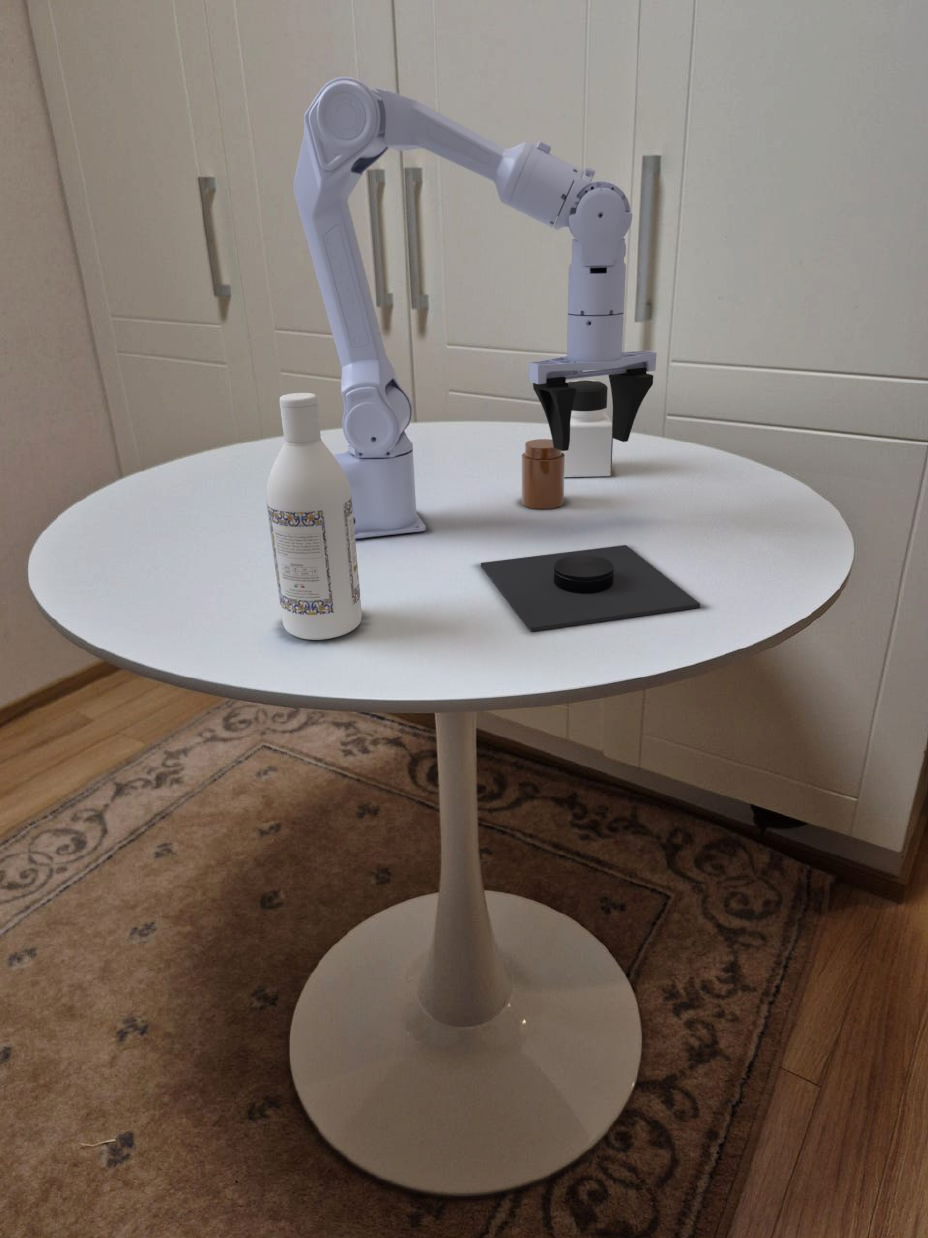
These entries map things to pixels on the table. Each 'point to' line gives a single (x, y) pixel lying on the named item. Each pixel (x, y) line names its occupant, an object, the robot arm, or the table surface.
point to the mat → (554, 608)
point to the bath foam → (312, 529)
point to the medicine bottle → (589, 432)
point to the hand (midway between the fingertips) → (591, 444)
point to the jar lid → (583, 574)
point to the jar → (542, 475)
